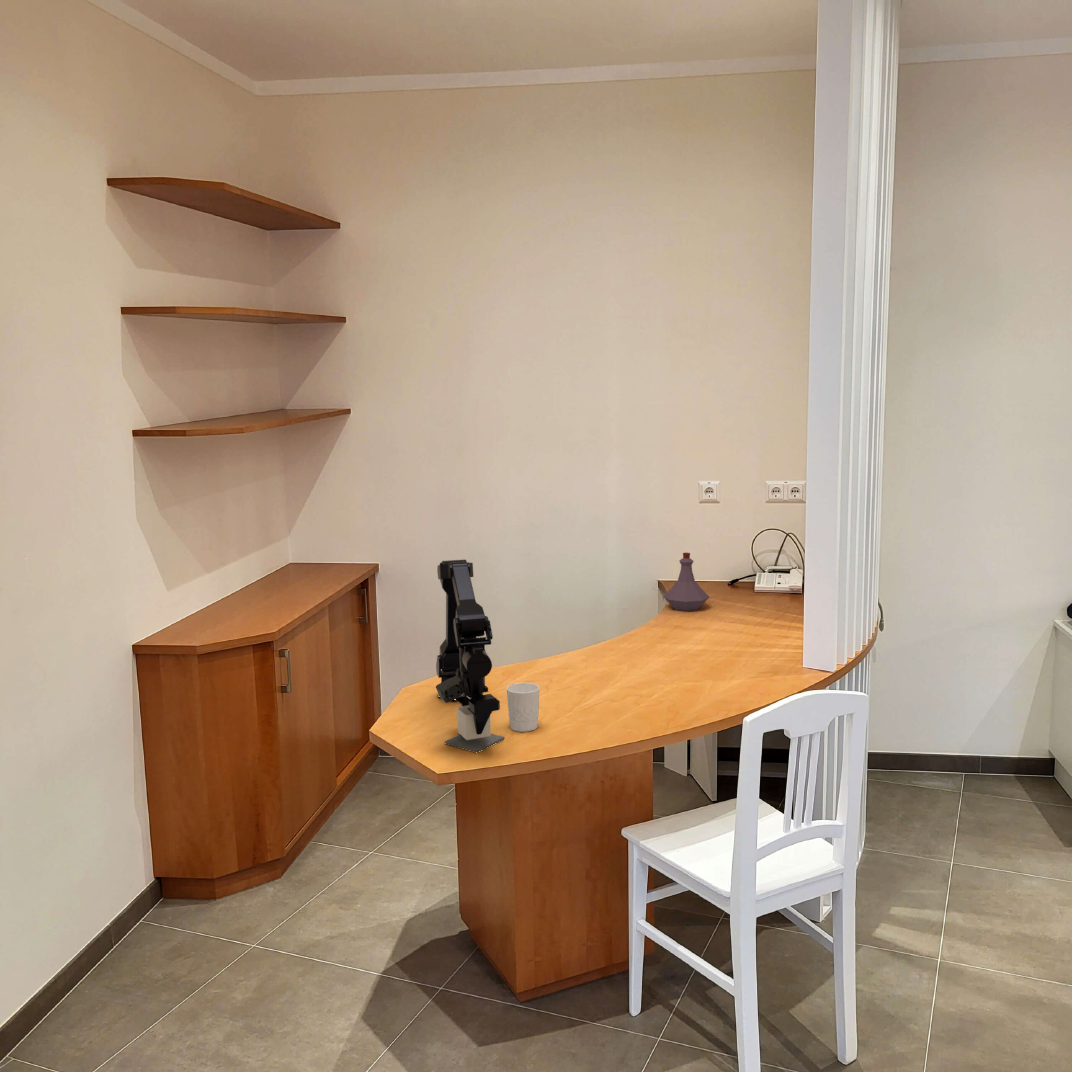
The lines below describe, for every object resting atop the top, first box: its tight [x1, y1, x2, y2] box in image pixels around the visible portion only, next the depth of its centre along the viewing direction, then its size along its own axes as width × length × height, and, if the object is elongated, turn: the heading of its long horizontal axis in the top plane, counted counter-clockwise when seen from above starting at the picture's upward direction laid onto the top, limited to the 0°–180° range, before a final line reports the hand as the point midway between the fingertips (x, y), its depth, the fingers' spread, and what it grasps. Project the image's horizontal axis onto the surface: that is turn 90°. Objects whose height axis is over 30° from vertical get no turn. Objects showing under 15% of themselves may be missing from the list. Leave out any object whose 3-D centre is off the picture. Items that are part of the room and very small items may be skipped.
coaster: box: [443, 733, 506, 754], centre depth 232 cm, size 10×10×1 cm
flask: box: [662, 552, 710, 612], centre depth 353 cm, size 16×16×20 cm
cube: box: [456, 705, 492, 740], centre depth 231 cm, size 6×6×6 cm
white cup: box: [506, 682, 540, 733], centre depth 240 cm, size 8×8×10 cm
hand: (474, 729), depth 231 cm, fingers closed on cube, 6 cm apart
